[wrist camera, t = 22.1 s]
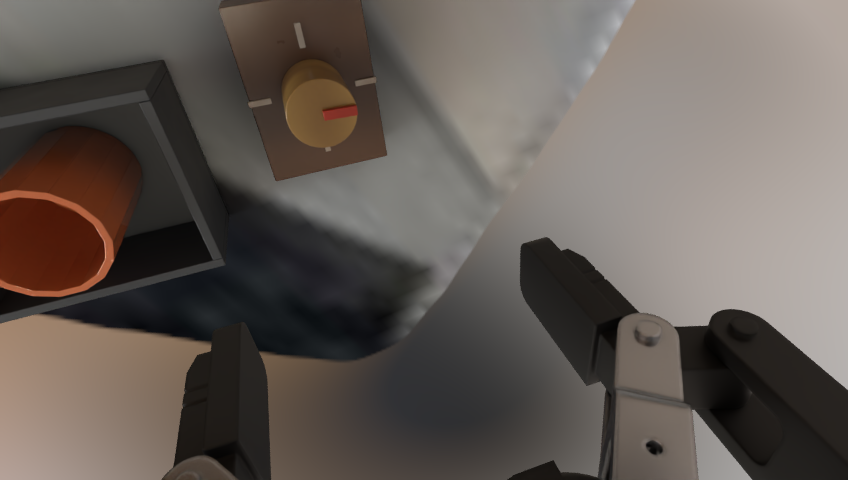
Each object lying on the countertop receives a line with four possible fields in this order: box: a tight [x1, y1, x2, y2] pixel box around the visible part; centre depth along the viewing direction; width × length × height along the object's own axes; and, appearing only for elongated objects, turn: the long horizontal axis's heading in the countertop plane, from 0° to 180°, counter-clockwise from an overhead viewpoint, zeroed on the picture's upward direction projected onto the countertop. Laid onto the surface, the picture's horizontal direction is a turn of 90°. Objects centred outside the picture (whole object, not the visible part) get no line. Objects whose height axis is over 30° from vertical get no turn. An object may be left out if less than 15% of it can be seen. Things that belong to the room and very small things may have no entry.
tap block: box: [219, 0, 387, 181], centre depth 31 cm, size 11×8×3 cm
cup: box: [0, 126, 143, 297], centre depth 28 cm, size 6×6×9 cm
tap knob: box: [281, 59, 358, 148], centre depth 28 cm, size 4×4×5 cm
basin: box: [0, 60, 229, 323], centre depth 29 cm, size 12×14×6 cm
